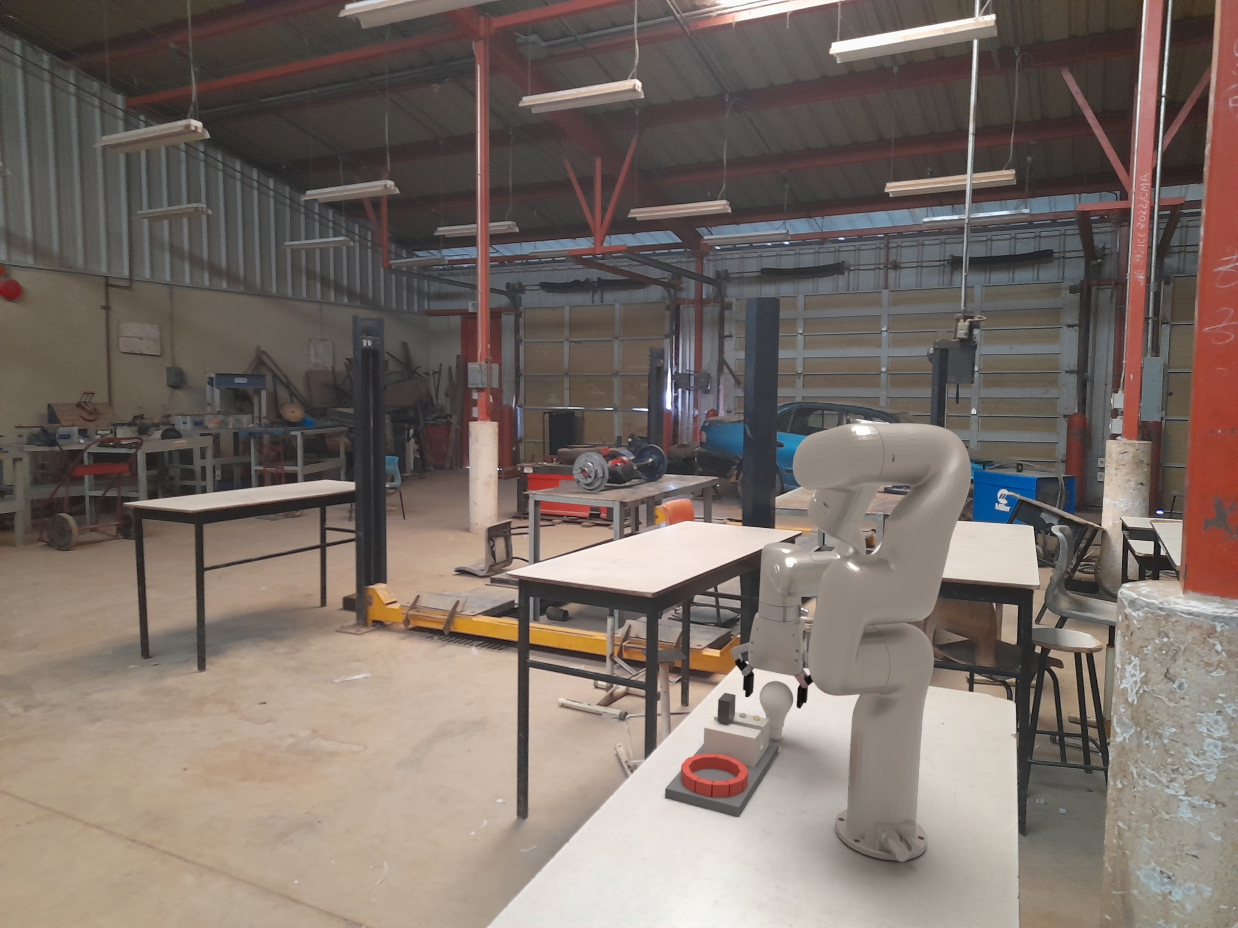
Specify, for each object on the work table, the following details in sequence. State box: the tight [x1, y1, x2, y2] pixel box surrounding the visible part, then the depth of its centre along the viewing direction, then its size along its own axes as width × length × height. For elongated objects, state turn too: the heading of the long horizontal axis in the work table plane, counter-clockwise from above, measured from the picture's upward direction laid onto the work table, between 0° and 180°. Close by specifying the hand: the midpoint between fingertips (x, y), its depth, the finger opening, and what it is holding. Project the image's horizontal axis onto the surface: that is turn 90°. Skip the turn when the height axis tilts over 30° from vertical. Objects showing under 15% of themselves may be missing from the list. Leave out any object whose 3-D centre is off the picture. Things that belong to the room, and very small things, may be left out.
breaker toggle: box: [717, 692, 737, 724], centre depth 137 cm, size 4×2×7 cm, turn 154°
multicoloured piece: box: [664, 711, 780, 817], centre depth 131 cm, size 24×12×7 cm, turn 154°
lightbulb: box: [759, 680, 794, 741], centre depth 144 cm, size 6×6×11 cm
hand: (774, 699), depth 145 cm, fingers open, 9 cm apart
